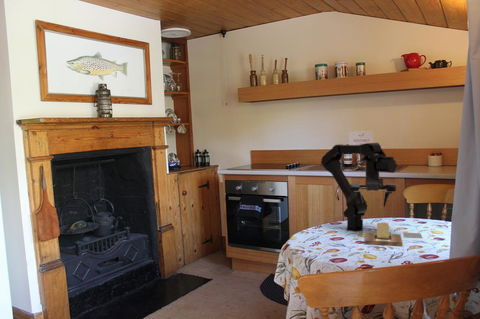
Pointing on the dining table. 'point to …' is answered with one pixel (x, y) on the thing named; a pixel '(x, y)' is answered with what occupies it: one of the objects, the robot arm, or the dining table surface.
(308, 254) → the dining table surface
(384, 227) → the peg block
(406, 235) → the grey square plate
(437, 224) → the dining table surface
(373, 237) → the rack plate
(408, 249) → the dining table surface
